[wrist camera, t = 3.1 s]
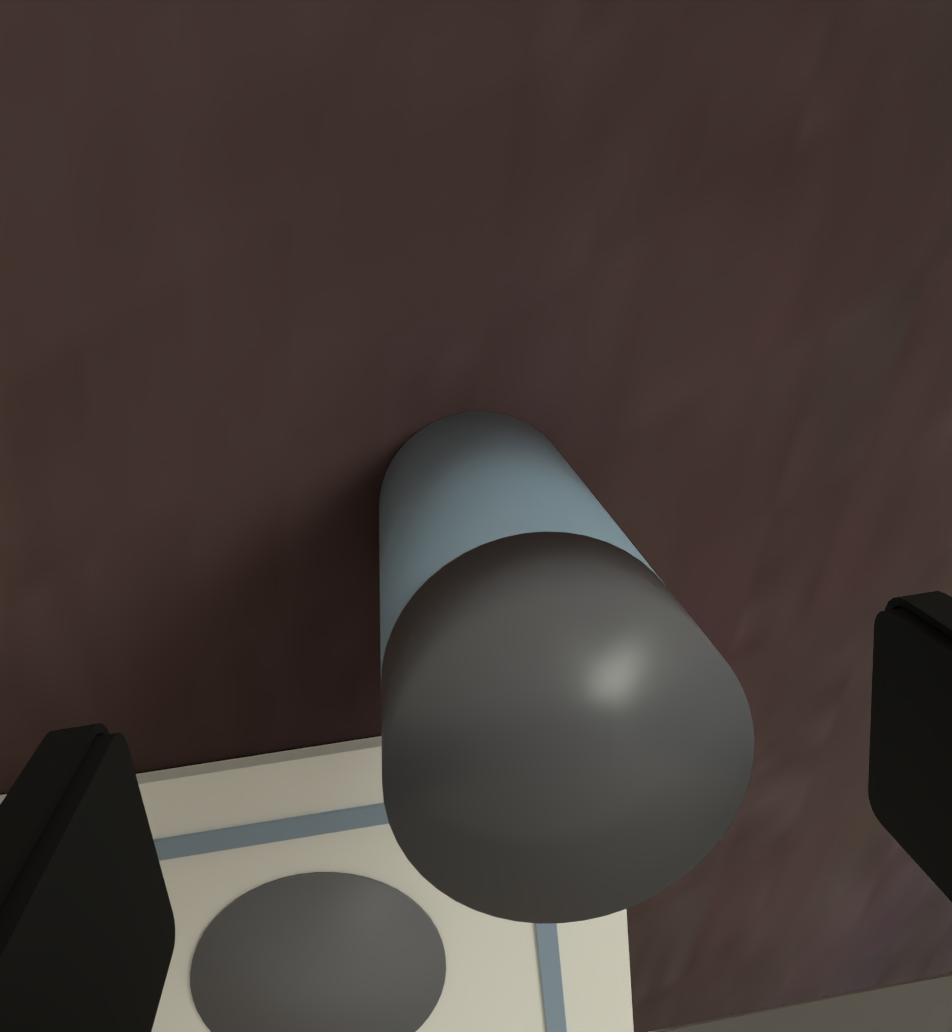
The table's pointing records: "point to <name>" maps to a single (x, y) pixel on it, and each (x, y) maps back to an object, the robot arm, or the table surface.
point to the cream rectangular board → (348, 915)
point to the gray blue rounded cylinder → (541, 687)
